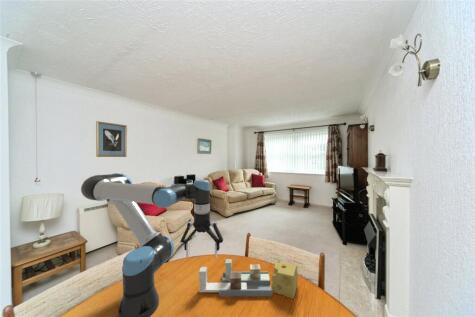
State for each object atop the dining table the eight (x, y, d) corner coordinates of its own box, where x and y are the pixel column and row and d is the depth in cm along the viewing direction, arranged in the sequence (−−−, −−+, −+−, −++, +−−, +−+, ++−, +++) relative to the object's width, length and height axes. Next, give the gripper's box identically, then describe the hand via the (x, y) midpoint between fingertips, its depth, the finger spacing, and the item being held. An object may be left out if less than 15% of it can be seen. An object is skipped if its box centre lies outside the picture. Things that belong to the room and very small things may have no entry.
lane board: (219, 296, 81) (219, 290, 81) (223, 276, 95) (222, 271, 95) (272, 296, 80) (272, 290, 80) (268, 276, 94) (268, 271, 94)
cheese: (271, 292, 83) (270, 270, 83) (277, 278, 92) (277, 259, 92) (294, 300, 78) (293, 276, 78) (298, 284, 87) (298, 264, 88)
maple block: (250, 279, 89) (250, 269, 89) (250, 274, 93) (249, 264, 93) (260, 279, 89) (260, 269, 89) (259, 273, 93) (259, 264, 93)
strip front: (199, 292, 82) (198, 272, 83) (201, 284, 87) (201, 266, 88) (246, 292, 82) (246, 272, 82) (246, 284, 87) (246, 265, 87)
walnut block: (230, 289, 82) (230, 278, 82) (231, 283, 87) (230, 272, 87) (241, 289, 82) (240, 278, 82) (241, 283, 86) (241, 272, 87)
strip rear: (225, 282, 89) (225, 263, 89) (226, 275, 94) (226, 258, 94) (269, 281, 88) (269, 263, 88) (268, 275, 93) (267, 258, 93)
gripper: (173, 214, 83) (173, 260, 82) (227, 214, 82) (227, 261, 81) (179, 210, 90) (179, 252, 90) (228, 210, 89) (228, 253, 89)
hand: (202, 256), depth 85 cm, fingers open, 13 cm apart
